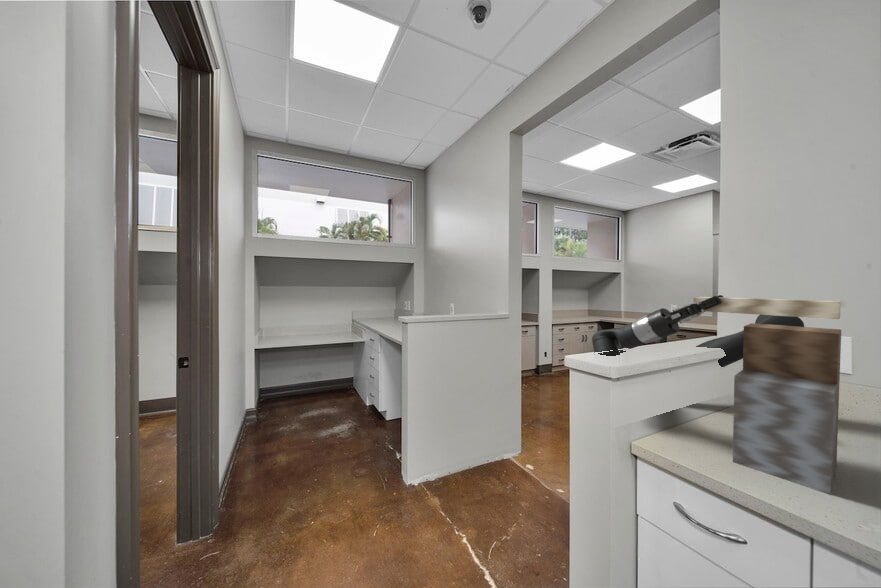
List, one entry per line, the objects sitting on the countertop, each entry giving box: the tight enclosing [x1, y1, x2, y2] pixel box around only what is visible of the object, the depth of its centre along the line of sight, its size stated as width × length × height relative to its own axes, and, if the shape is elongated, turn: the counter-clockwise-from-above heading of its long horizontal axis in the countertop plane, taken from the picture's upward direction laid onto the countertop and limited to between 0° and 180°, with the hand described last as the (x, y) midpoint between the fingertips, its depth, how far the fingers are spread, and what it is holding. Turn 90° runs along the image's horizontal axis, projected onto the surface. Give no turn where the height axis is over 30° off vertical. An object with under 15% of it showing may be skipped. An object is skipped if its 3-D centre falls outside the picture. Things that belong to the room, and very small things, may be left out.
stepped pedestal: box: [732, 322, 842, 495], centre depth 75 cm, size 15×16×32 cm
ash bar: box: [692, 296, 842, 320], centre depth 76 cm, size 24×4×4 cm, turn 36°
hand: (721, 298), depth 81 cm, fingers closed on ash bar, 3 cm apart
